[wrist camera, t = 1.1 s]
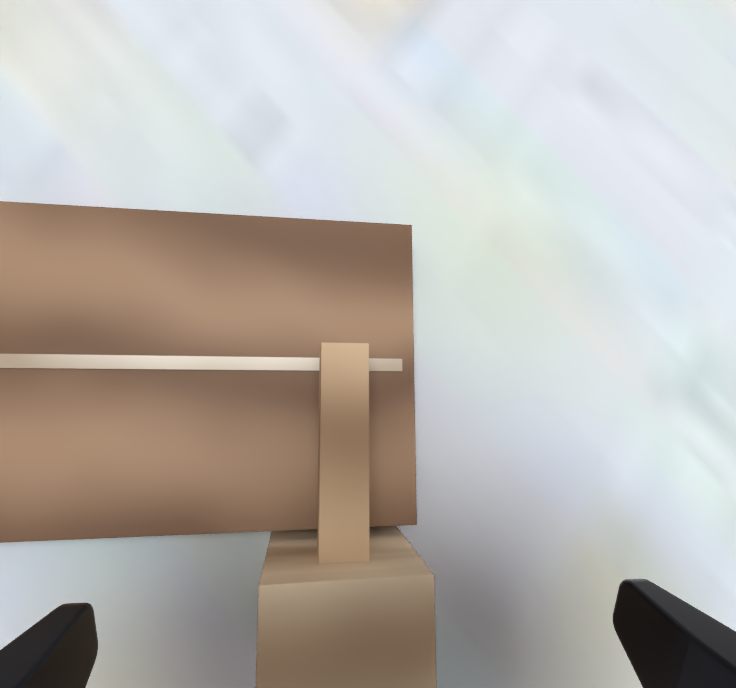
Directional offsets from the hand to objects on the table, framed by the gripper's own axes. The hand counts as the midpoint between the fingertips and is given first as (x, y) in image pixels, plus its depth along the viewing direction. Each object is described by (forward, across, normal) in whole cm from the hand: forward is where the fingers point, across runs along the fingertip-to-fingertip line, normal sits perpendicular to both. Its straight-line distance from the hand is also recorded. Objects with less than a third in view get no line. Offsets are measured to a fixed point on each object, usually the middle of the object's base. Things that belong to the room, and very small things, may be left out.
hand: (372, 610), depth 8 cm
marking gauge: (+10, 0, +4) cm, 11 cm away
